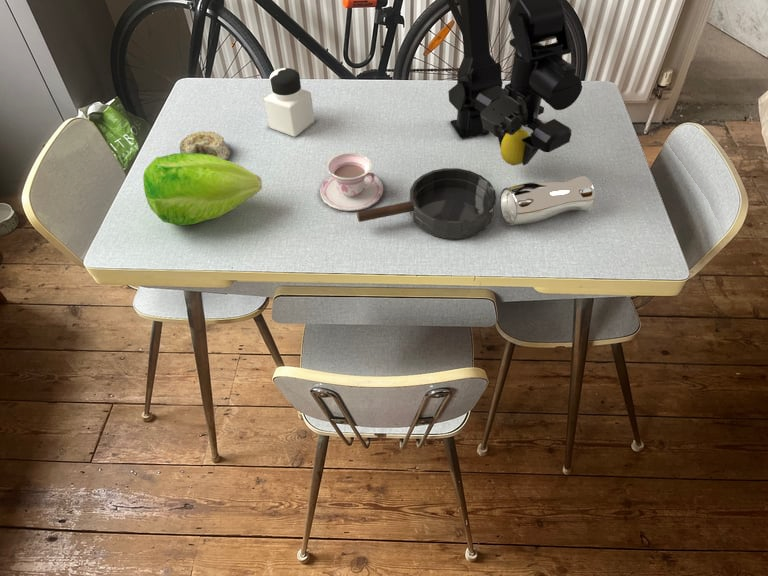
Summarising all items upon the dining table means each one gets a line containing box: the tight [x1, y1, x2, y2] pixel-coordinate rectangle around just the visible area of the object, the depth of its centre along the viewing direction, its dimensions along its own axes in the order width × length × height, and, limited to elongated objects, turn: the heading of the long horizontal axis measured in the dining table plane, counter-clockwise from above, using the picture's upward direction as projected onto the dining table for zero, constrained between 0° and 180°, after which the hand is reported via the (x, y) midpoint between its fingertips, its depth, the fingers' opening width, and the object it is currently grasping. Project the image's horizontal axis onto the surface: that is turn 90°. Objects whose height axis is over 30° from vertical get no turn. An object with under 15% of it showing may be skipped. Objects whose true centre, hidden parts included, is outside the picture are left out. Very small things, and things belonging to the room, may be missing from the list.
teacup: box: [319, 152, 384, 212], centre depth 107 cm, size 12×12×6 cm
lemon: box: [500, 127, 530, 166], centre depth 107 cm, size 6×6×8 cm
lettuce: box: [142, 152, 263, 226], centre depth 101 cm, size 14×20×12 cm
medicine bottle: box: [263, 67, 315, 138], centre depth 120 cm, size 7×7×12 cm
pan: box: [409, 167, 498, 240], centre depth 103 cm, size 15×15×4 cm
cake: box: [179, 130, 231, 160], centre depth 116 cm, size 10×10×5 cm
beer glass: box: [499, 175, 595, 226], centre depth 101 cm, size 7×7×15 cm
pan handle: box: [356, 200, 414, 223], centre depth 100 cm, size 2×10×2 cm, turn 106°
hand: (513, 156), depth 109 cm, fingers closed on lemon, 5 cm apart
